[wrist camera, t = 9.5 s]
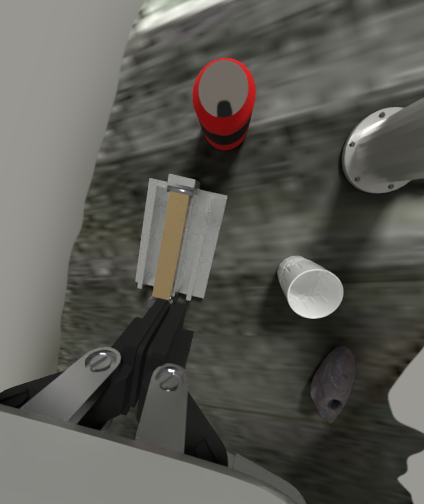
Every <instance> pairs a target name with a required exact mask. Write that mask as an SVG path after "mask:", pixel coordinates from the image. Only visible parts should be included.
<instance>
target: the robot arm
mask: <svg viewBox="0 0 424 504" xmlns="http://www.w3.org/2000/svg"><path fill="white" fill-rule="evenodd" d="M349 144H350V146H349ZM342 168H343V171H344V174H345V176H346V178H347V179H348V181H349V182H350V183H351V184H352V185H353V186H354V187H355V188H357V189H359V190H361V191H364V192H367V193H386V192H390V191H393V190H396V189H398V188H400V187H402V186H404V185H406V184H407V183H408V182H410V181H411V180H414V179H423V178H424V98H422V99H420V100H418V101H416V102H415V103H413V104H411V105H409V106H407V107H405V108H400V107H392V108H386V109H382V110H379V111H377V112H375V113H373V114H371V115H369V116H368V117H366V118H365V119H363V120H362V121H361V122H360V123H359V124H357V125H356V127H355V128H354V129H353V130H352V131H351V133H350V134H349V136H348V138H347V140H346V142H345V145H344V147H343V152H342ZM355 179H356V180H355ZM170 307H171V303H168V300H166V299H162V298H158V299H157V300H156V301H155V303H154V304H153V305H152V307H151V308H150V309H149V311H148V312H147V313H146V315H145V316H144V317H143V318H139V317H136V318H135V319H134V320H133V321H132V322H131V324H130V325H129V326H128V327H127V328H126V330H125V331H124V332H123V333H122V335H121V336H120V337H119V338H118V339H117V341H116V342H115V343H114V344H113V345H112V347H111V348H110V347H101V348H96V349H94V350H91V351H90V352H88V353H86V354H85V355H84V356H83V357H82V358H80V359H79V360H78V361H77V362H75V363H74V364H73V365H72V366H71V367H69V368H68V369H67V370H65V371H62V372H59V373H56V374H53V375H49V376H46V377H43V378H40V379H37V380H33V381H30V382H27V383H24V384H21V385H18V386H14V387H12V388H9V389H7V390H4V391H3V392H1V393H0V504H306V503H305V500H304V498H303V497H302V495H301V494H300V493H299V492H298V490H297V489H296V488H295V487H294V486H292V485H291V484H290V483H288V482H287V481H285V480H283V479H281V478H280V477H278V476H276V475H274V474H273V473H271V472H269V471H267V470H265V469H264V468H262V467H260V466H258V465H257V464H255V463H253V462H251V461H250V460H248V459H246V458H244V457H242V456H241V455H239V454H237V453H236V455H235V456H233V455H232V454H230V453H228V452H226V449H225V447H224V445H223V443H222V441H221V440H220V438H219V437H218V435H217V434H216V432H215V431H214V429H213V428H212V426H211V425H210V423H209V422H208V420H207V419H206V417H205V416H204V414H203V413H202V411H201V410H200V409H199V407H198V406H197V404H196V403H195V401H194V400H193V398H192V397H191V395H190V394H189V392H188V375H187V373H186V371H185V370H184V369H185V366H186V362H187V358H188V355H189V351H190V347H191V342H192V338H193V334H194V331H190V330H186V329H182V328H183V323H184V318H185V314H186V309H187V305H186V304H182V303H177V305H175V304H173V306H172V307H171V309H170ZM138 399H139V402H138V411H137V417H136V418H137V421H138V423H139V426H138V430H137V434H136V438H135V440H132V439H128V438H125V437H121V436H117V435H114V434H110V433H106V431H107V430H108V428H109V427H110V425H111V423H112V420H113V418H114V417H116V416H118V415H120V414H123V415H127V413H128V411H129V409H130V406H131V407H135V405H136V403H137V401H138Z"/></svg>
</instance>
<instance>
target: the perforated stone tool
mask: <svg viewBox="0 0 424 504" xmlns="http://www.w3.org/2000/svg"><path fill="white" fill-rule="evenodd" d="M355 374H356V362H355V357H354V354H353V352H352V351H351V349H349V348H348V347H347V346H339V347H337V348H335V349H334V350H332V351H331V352H330V353H329V354H328V355H327V356H326V358H325V359H324V361H323V362H322V364H321V365H320V367H319V368H318V370H317V371H316V373H315V376H314V377H313V380H312V382H311V384H310V396H311V398H312V401H313V402H314V404H315V406H316V407H317V409H318V413H319V415H320V417H321V418H323V419H324V420H326V421H328V422H329V423H332V422H333V421H334V420H335V419H336V417H337V416H338V415H339V413H340V412H341V411H342V409H343V408H344V406H345V404H346V402H347V400H348V397H349V395H350V393H351V390H352V386H353V383H354V379H355Z"/></svg>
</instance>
